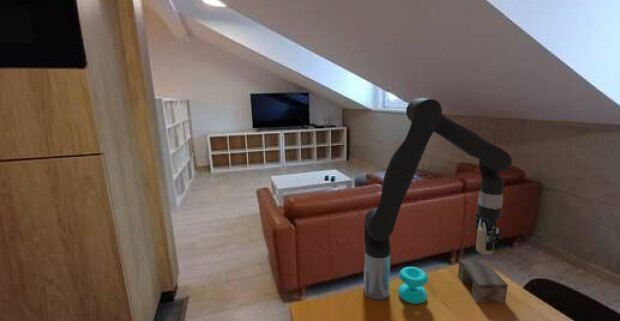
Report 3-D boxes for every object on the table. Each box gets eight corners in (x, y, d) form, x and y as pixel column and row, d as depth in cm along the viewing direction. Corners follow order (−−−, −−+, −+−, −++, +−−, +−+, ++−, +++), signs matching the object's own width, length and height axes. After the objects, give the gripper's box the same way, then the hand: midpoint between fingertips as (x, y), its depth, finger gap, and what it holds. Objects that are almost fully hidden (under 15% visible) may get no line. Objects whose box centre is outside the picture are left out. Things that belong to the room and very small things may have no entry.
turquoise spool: (395, 266, 115) (419, 263, 117) (394, 289, 118) (418, 286, 119) (407, 282, 106) (433, 279, 107) (405, 307, 108) (431, 303, 109)
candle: (488, 247, 115) (491, 223, 113) (495, 255, 110) (498, 229, 108) (473, 247, 116) (476, 222, 114) (479, 254, 110) (482, 229, 108)
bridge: (476, 302, 109) (478, 284, 107) (458, 276, 125) (459, 259, 123) (505, 303, 109) (507, 285, 107) (483, 276, 124) (484, 260, 122)
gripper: (470, 196, 116) (465, 237, 120) (489, 211, 102) (483, 256, 106) (490, 196, 115) (485, 237, 119) (512, 211, 101) (506, 256, 105)
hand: (484, 246), depth 112 cm, fingers closed on candle, 5 cm apart
